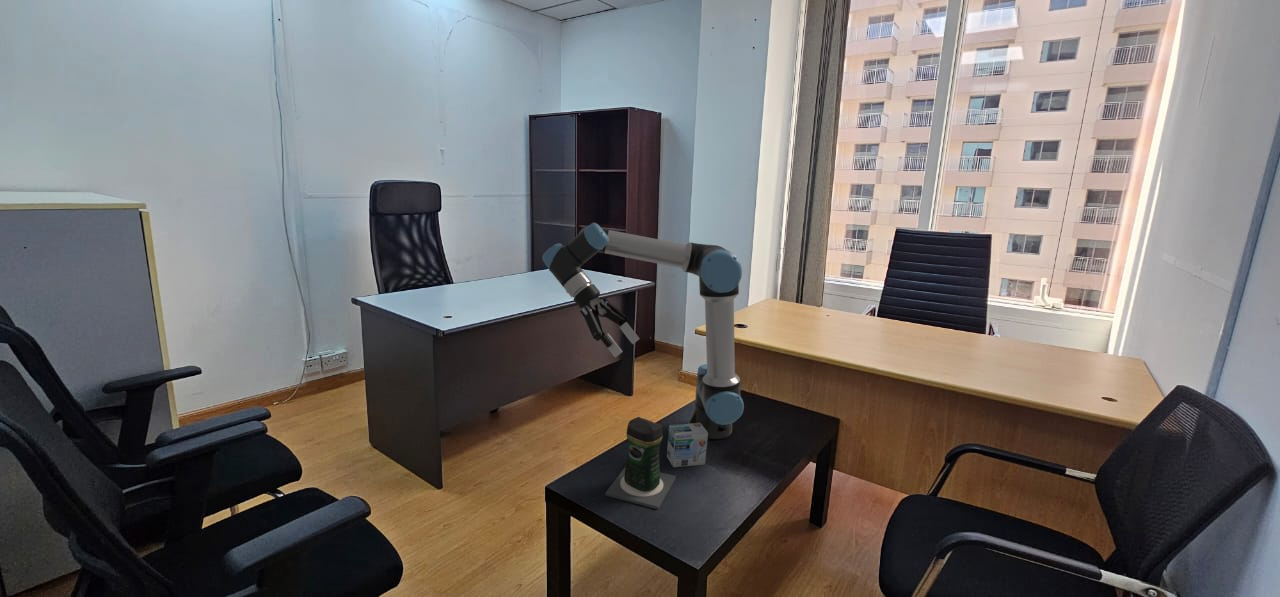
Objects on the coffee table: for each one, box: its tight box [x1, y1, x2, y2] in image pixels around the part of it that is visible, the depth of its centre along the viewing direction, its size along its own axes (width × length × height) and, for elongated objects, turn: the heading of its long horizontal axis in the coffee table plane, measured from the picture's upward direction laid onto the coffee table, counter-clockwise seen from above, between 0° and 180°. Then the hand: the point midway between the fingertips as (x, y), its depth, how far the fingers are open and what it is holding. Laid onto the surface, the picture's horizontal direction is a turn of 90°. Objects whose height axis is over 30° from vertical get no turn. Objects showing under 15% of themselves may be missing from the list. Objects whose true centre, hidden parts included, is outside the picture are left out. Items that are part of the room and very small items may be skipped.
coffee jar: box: [624, 416, 664, 492], centre depth 145 cm, size 10×8×19 cm
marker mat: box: [605, 466, 677, 510], centre depth 147 cm, size 16×15×1 cm
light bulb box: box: [666, 423, 708, 468], centre depth 161 cm, size 11×7×11 cm, turn 105°
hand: (628, 348), depth 153 cm, fingers open, 13 cm apart
